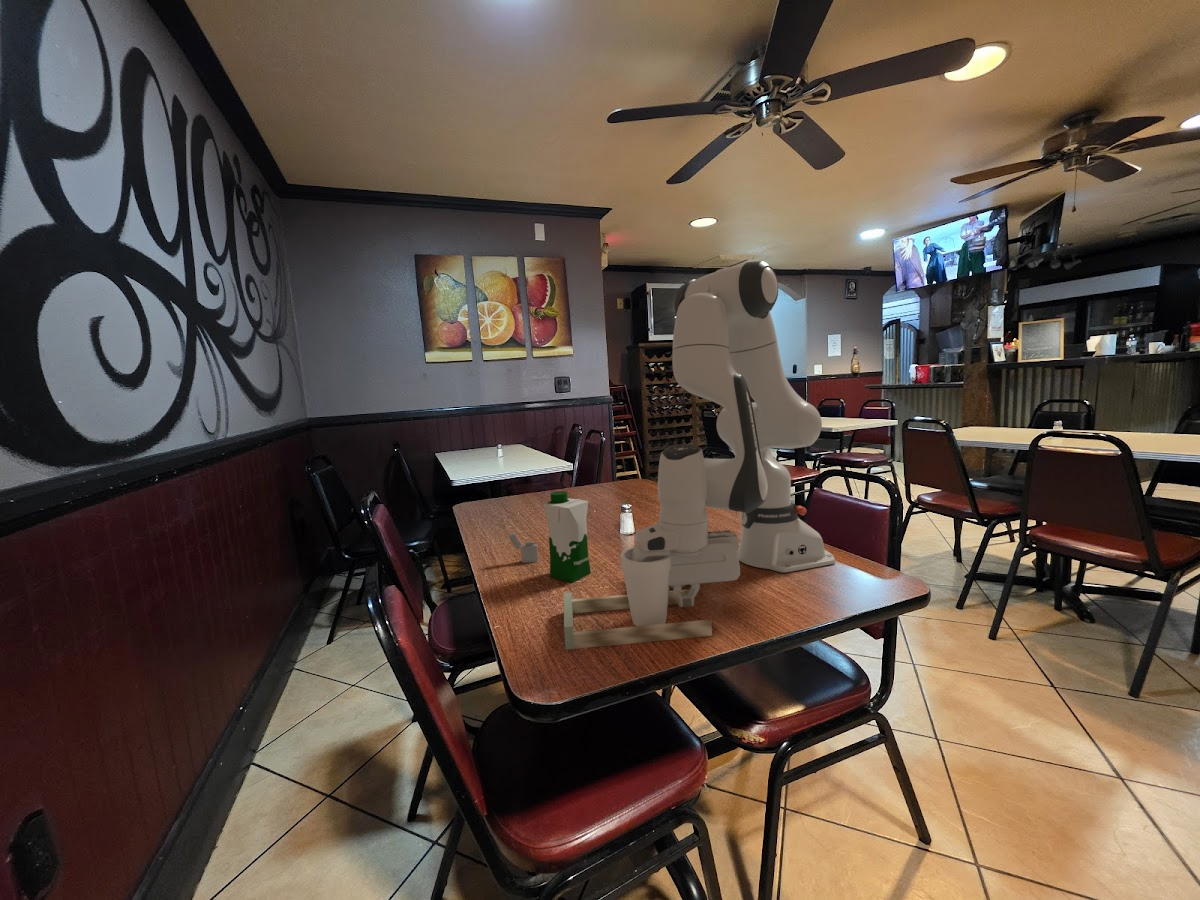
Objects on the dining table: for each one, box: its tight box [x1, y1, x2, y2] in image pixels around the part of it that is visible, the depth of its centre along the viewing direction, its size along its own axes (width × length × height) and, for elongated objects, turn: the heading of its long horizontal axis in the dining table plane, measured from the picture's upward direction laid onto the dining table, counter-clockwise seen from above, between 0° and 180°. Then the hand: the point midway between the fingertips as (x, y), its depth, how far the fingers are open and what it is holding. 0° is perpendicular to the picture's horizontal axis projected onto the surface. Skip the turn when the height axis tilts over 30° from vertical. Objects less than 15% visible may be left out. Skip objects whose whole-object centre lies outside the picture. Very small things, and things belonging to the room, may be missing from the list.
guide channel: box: [572, 588, 713, 650], centre depth 86 cm, size 24×14×2 cm, turn 95°
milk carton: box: [543, 491, 592, 584], centre depth 110 cm, size 9×9×20 cm
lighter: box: [508, 532, 539, 564], centre depth 121 cm, size 7×2×8 cm, turn 95°
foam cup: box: [620, 546, 671, 626], centre depth 86 cm, size 10×9×13 cm
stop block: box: [563, 591, 575, 651], centre depth 85 cm, size 2×14×4 cm, turn 5°
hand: (685, 605), depth 86 cm, fingers closed
